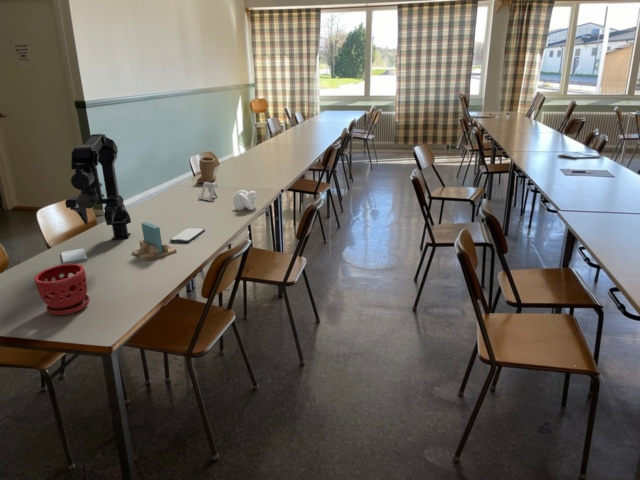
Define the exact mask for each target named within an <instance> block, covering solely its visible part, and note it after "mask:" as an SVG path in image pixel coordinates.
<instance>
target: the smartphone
mask: <svg viewBox="0 0 640 480" xmlns="http://www.w3.org/2000/svg"><path fill="white" fill-rule="evenodd" d="M203 232H204V233H205V232H206V230H205V228H196V227H195V228H193V227H188V228H185V229H184V230H183V231H181V232H178V233H177V234H175V236H173V237H171V238H170V239H169V241H170V243H171V242H176V243H175V244H190V243H192V242H193V241H194V240H195V238H196V237H197V238H198V237H200V236H201V235H202V234H203ZM199 235H200V236H199ZM197 238H196V239H197ZM192 240H193V241H192ZM191 241H192V242H191ZM177 242H178V243H177ZM189 242H190V243H189Z"/></svg>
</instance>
